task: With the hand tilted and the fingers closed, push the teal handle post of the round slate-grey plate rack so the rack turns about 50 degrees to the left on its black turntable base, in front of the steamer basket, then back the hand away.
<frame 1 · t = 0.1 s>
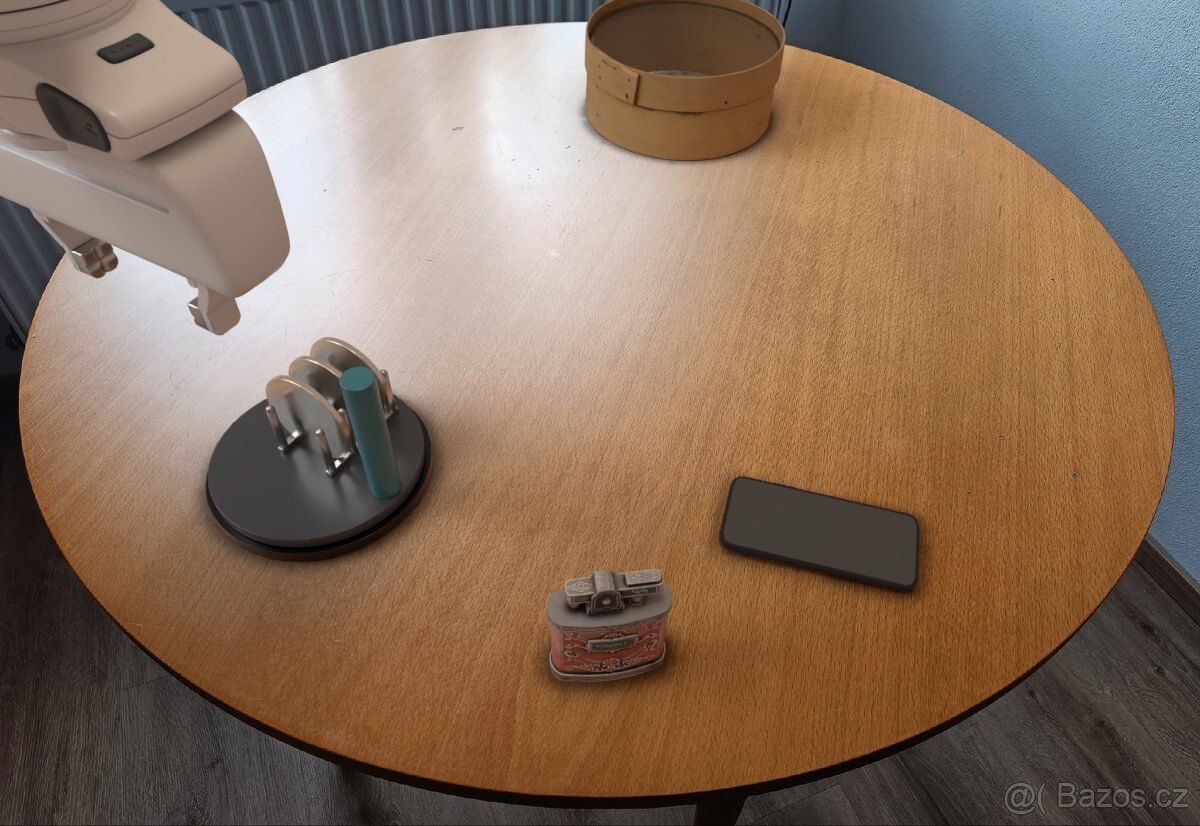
hand: (158, 296, 47), 25 cm above the table, tool pointing down, fingers open, 8 cm apart
dish rack: (301, 406, 66), point 8 cm above the table, hinge at 0.0°
steamer basket: (677, 115, 114), on the table
smartphone: (818, 536, 67), on the table
lighter: (607, 659, 60), on the table
rack base: (323, 470, 71), on the table
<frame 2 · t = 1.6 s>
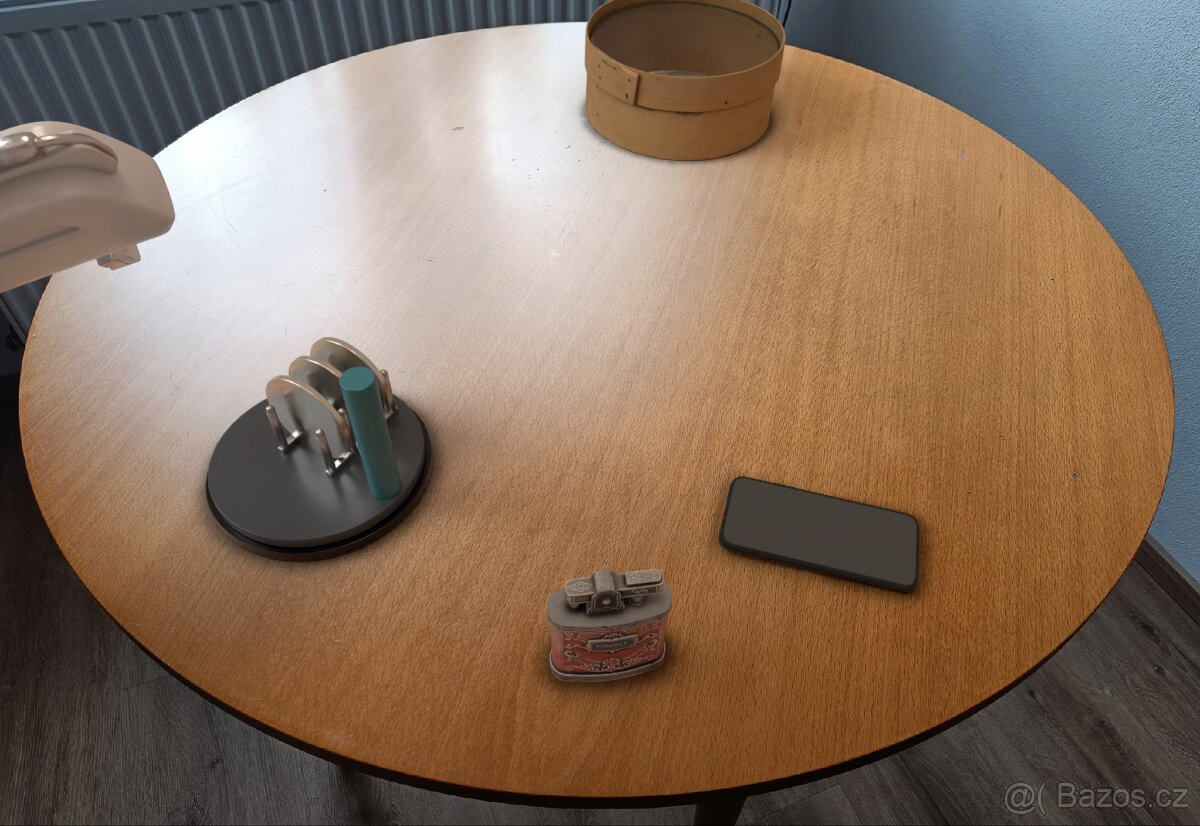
hand: (41, 281, 46), 26 cm above the table, tool tilted 40°, fingers open, 8 cm apart
nothing on the table moved.
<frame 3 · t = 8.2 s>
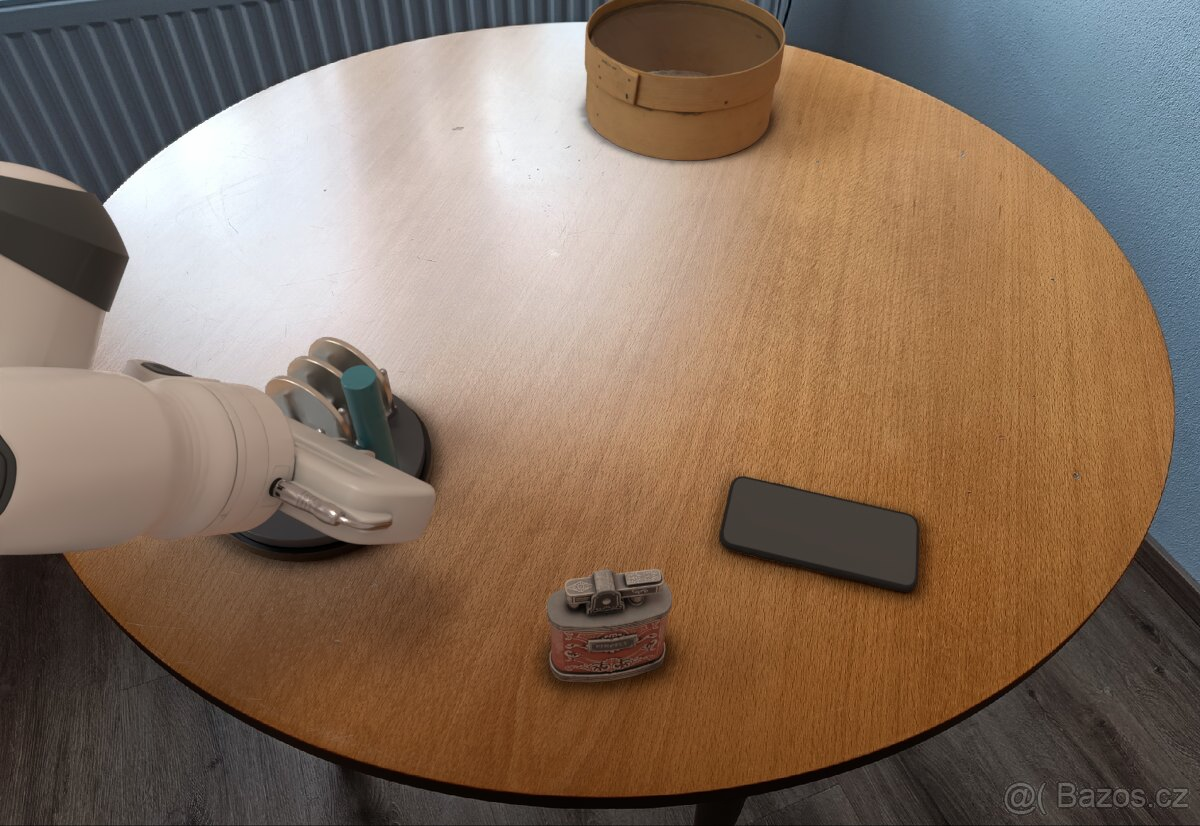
hand: (357, 456, 63), 7 cm above the table, tool tilted 45°, fingers closed, pressing on dish rack
dish rack: (301, 406, 66), point 8 cm above the table, hinge at 1.3°, touching gripper
everything else where it was.
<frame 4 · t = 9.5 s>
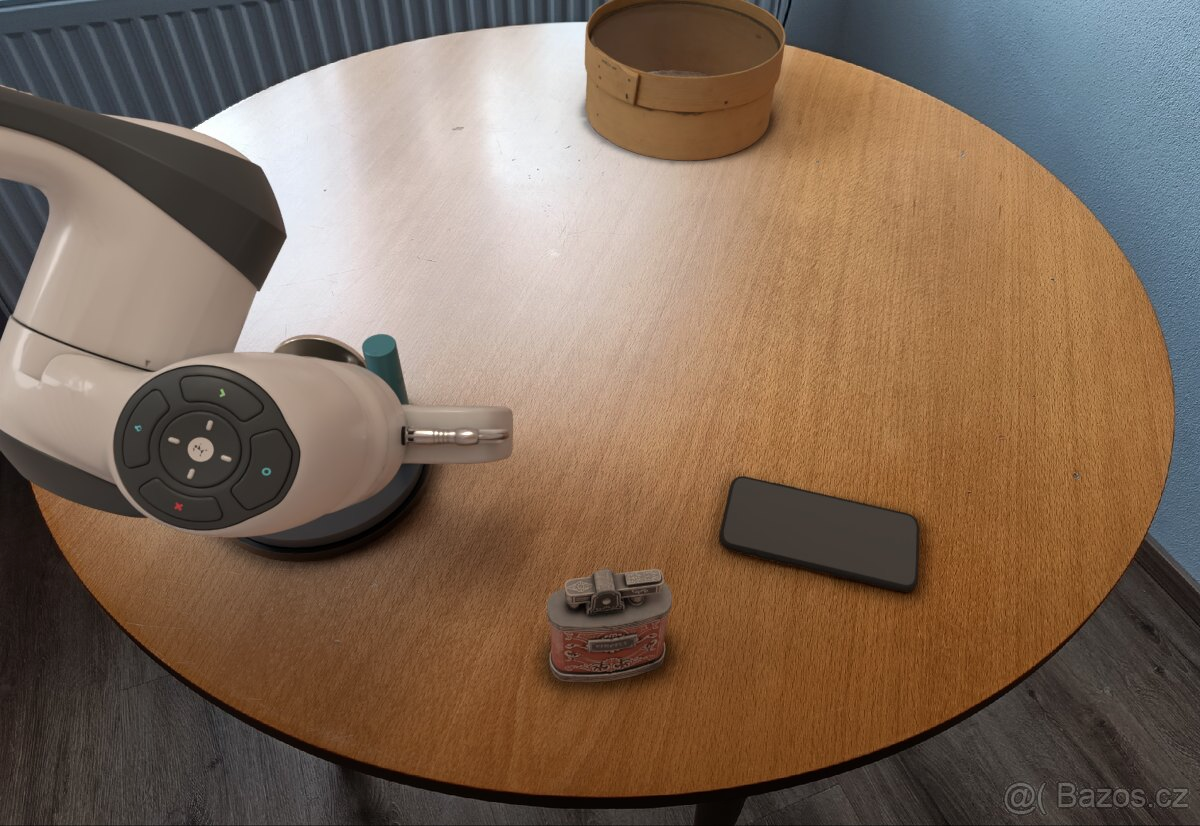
hand: (388, 428, 65), 7 cm above the table, tool tilted 45°, fingers closed, pressing on dish rack
dish rack: (301, 406, 66), point 8 cm above the table, hinge at 29.4°, touching gripper
everything else where it was.
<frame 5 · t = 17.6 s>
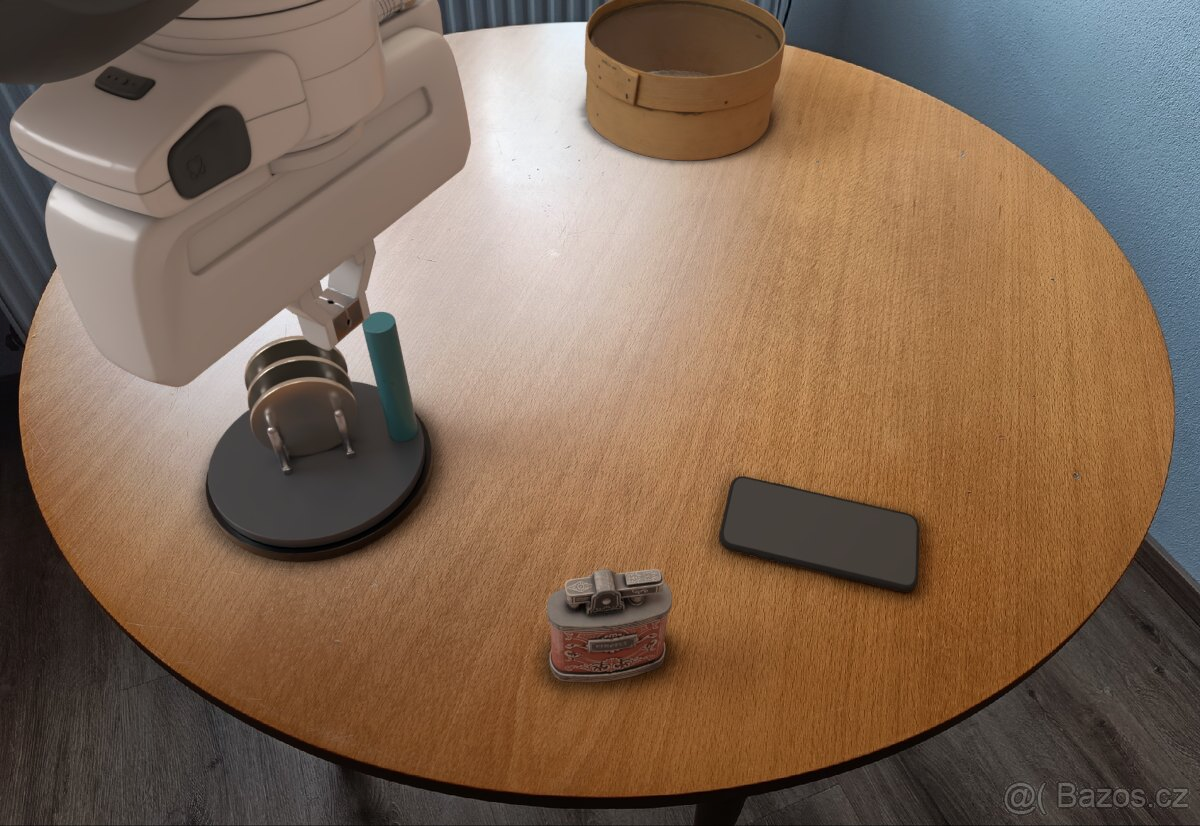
hand: (338, 330, 42), 27 cm above the table, tool pointing down, fingers closed
dish rack: (301, 406, 66), point 8 cm above the table, hinge at 50.1°
everything else where it was.
at the end: dish rack at +50° (first picture: +0°); dish rack 70.0 cm from the steamer basket (horizontally) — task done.
